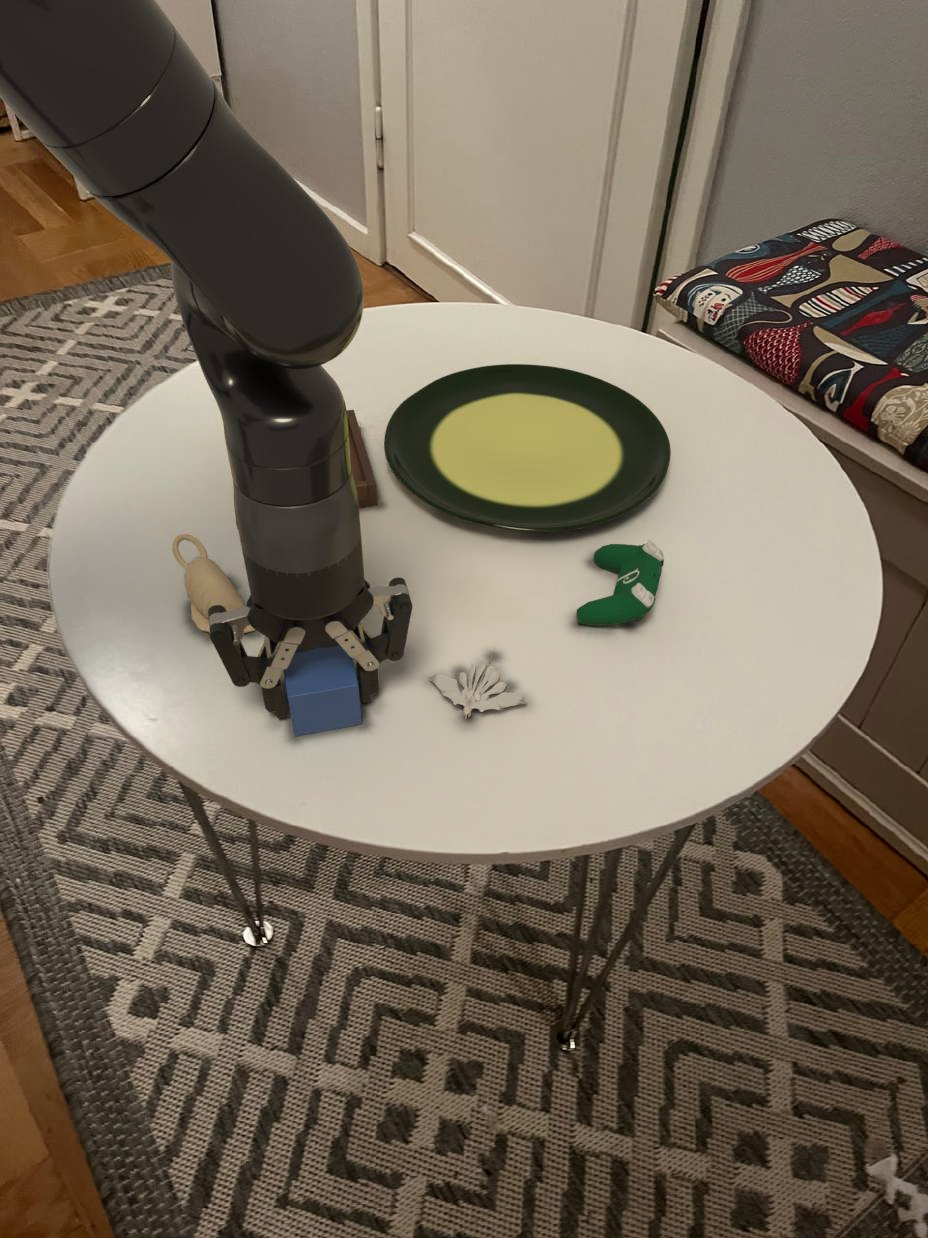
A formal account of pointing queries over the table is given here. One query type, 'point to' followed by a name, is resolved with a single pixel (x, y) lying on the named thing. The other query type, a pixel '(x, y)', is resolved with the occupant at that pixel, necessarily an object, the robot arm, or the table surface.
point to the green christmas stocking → (625, 584)
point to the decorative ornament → (206, 585)
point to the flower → (477, 690)
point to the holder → (361, 465)
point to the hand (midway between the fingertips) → (323, 700)
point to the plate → (527, 448)
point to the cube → (322, 691)
